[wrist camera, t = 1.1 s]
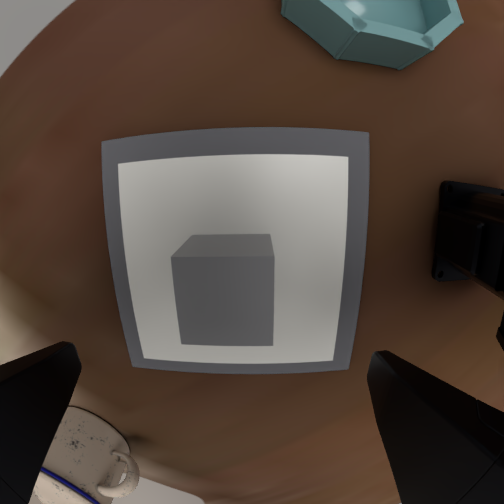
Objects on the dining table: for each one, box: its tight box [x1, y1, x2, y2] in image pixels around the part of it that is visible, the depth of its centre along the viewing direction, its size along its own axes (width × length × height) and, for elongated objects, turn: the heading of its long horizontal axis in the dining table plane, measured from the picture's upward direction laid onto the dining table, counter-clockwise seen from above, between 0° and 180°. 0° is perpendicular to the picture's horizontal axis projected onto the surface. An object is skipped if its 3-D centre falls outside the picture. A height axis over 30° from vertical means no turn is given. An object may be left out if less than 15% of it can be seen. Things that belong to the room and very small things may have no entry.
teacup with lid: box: [33, 407, 139, 504], centre depth 16 cm, size 12×9×12 cm
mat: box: [102, 127, 369, 374], centre depth 17 cm, size 15×15×1 cm
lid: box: [118, 154, 348, 364], centre depth 14 cm, size 12×12×5 cm
